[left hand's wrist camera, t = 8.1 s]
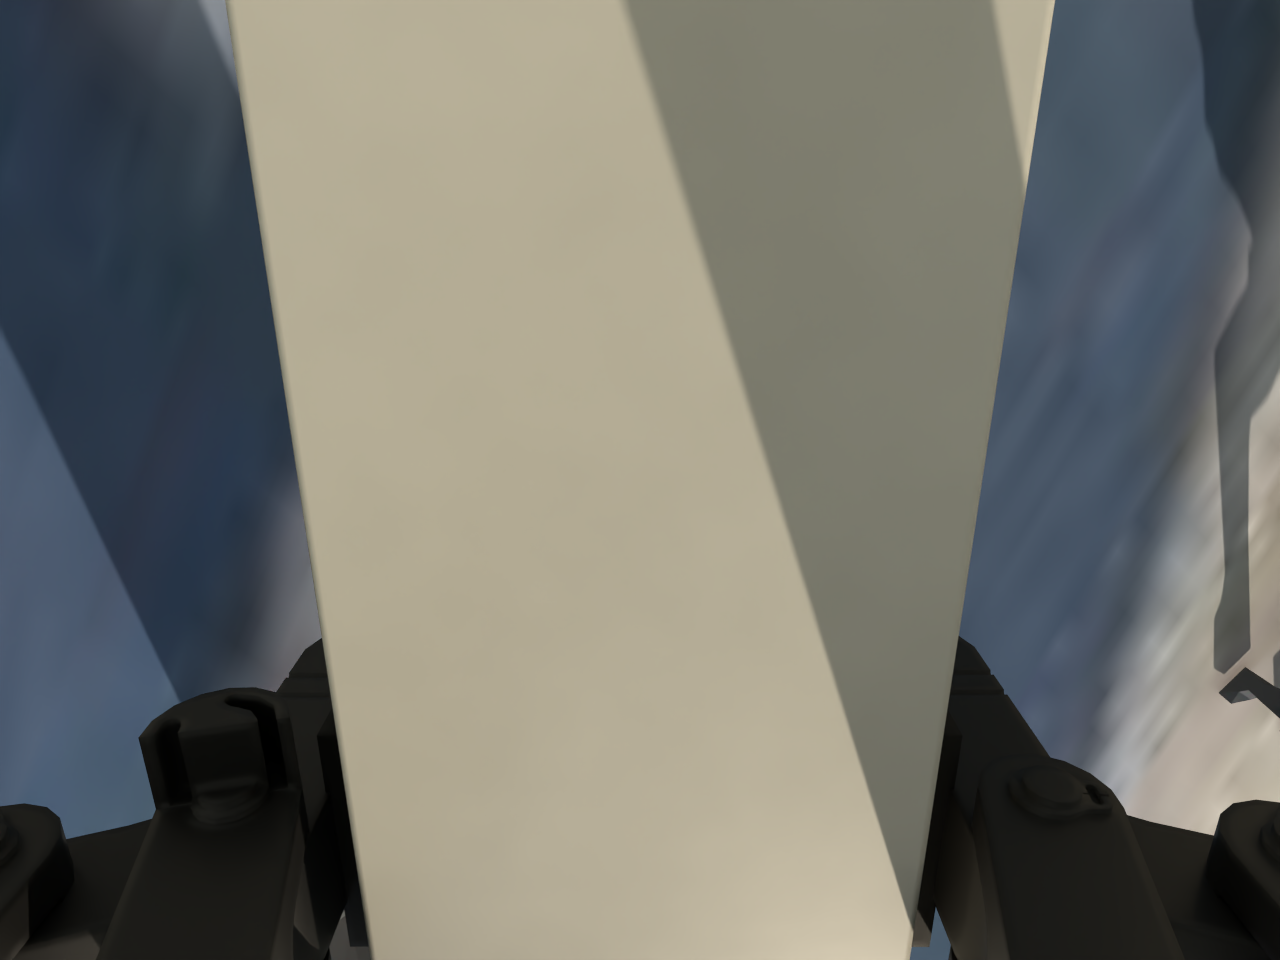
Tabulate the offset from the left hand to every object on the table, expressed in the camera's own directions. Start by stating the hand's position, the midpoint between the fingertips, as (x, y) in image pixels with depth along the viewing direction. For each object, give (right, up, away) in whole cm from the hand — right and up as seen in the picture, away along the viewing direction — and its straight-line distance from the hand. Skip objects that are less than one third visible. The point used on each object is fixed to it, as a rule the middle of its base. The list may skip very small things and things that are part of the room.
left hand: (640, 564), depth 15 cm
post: (0, +26, -9) cm, 27 cm away
